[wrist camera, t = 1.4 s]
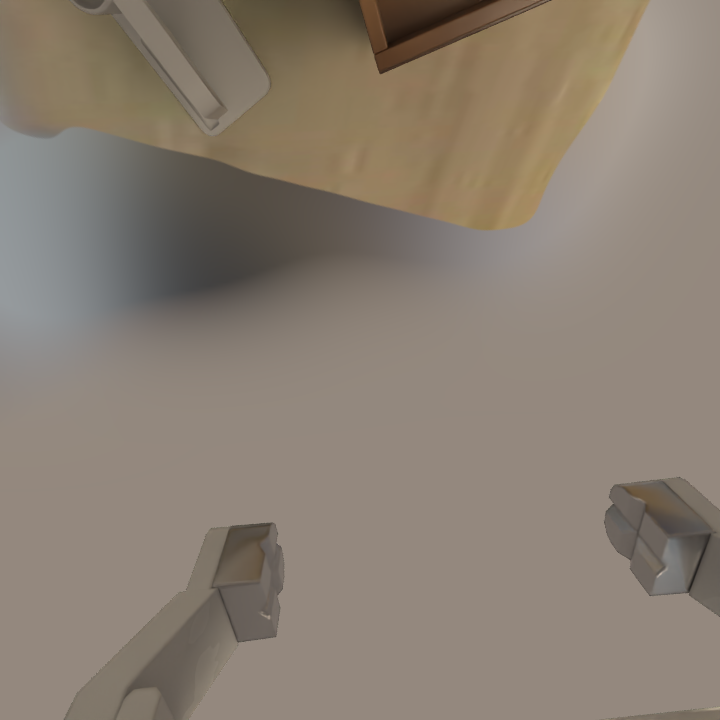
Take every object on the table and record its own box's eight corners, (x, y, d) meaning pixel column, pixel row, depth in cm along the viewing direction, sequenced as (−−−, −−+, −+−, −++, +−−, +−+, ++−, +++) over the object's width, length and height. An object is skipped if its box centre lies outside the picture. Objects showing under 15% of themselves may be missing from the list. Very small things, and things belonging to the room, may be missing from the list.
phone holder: (80, -31, 40) (-83, -47, 26) (147, -118, 36) (-4, -193, 22) (212, 139, 49) (143, 192, 35) (277, 84, 45) (227, 120, 31)
